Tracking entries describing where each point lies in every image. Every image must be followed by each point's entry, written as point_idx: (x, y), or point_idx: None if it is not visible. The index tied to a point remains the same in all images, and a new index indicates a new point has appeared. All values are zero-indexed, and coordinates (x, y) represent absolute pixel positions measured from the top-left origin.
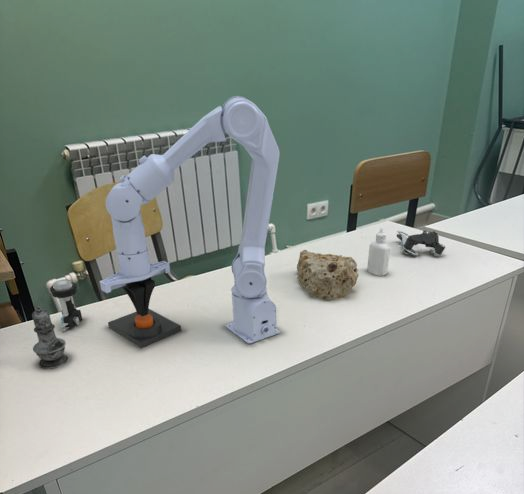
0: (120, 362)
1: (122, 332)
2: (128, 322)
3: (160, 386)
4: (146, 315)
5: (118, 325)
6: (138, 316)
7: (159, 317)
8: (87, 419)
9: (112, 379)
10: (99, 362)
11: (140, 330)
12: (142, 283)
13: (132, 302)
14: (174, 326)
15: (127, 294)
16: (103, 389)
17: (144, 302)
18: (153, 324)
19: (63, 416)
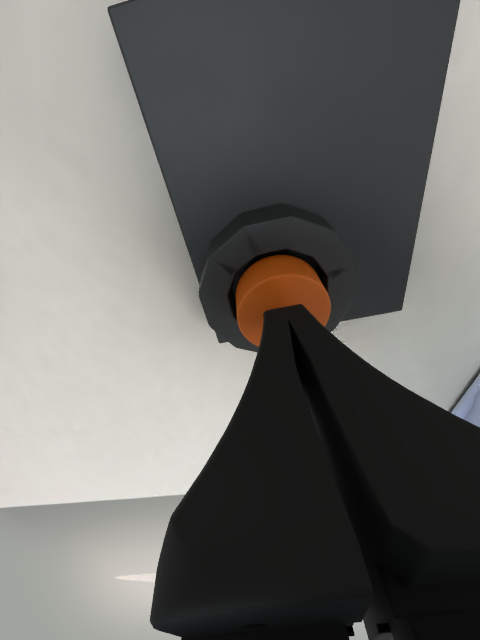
0: (140, 359)
1: (178, 219)
2: (237, 127)
3: (204, 452)
4: (307, 307)
5: (172, 130)
6: (267, 295)
7: (403, 179)
8: (62, 467)
9: (112, 406)
10: (75, 333)
11: (235, 343)
12: (375, 637)
13: (256, 357)
14: (381, 303)
15: (232, 417)
16: (89, 424)
17: (313, 419)
18: (320, 276)
19: (12, 452)
